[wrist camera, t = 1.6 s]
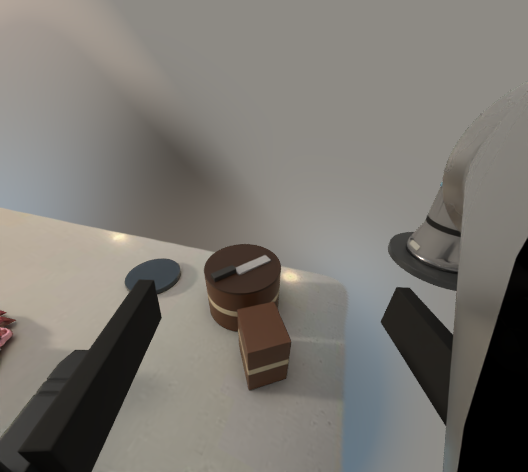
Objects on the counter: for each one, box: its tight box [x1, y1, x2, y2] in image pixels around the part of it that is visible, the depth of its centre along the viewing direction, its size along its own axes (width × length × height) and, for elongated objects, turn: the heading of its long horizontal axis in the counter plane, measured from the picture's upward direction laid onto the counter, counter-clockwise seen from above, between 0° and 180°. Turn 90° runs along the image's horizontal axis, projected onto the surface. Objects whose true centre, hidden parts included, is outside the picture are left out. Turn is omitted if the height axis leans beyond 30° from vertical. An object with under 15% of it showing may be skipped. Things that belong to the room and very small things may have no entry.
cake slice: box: [237, 302, 291, 390], centre depth 28 cm, size 6×5×8 cm
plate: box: [125, 259, 181, 294], centre depth 44 cm, size 10×10×1 cm
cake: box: [204, 244, 281, 331], centre depth 37 cm, size 12×12×9 cm
